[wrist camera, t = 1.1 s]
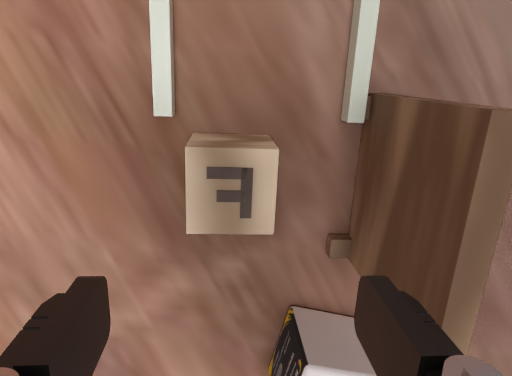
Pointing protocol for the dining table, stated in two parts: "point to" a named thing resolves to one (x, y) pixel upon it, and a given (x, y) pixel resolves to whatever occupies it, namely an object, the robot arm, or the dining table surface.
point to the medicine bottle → (319, 346)
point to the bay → (355, 72)
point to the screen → (430, 202)
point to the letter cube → (230, 183)
